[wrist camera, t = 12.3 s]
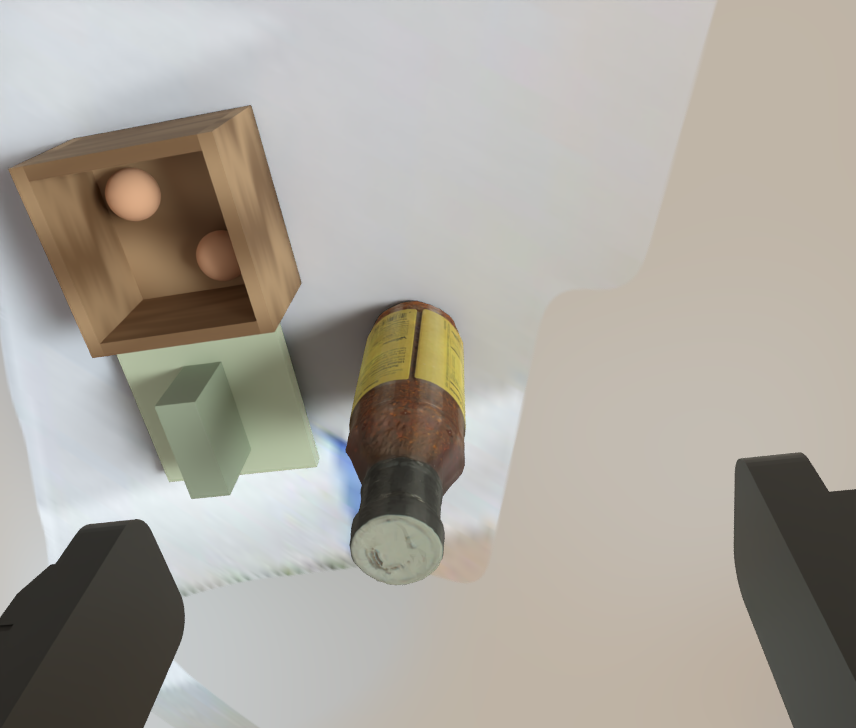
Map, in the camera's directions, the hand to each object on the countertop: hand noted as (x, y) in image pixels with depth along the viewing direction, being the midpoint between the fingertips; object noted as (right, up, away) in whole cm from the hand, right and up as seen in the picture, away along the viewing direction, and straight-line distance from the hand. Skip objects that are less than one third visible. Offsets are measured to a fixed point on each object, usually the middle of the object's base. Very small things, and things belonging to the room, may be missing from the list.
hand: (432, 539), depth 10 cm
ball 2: (-12, +10, +36) cm, 39 cm away
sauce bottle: (-1, +4, +39) cm, 39 cm away
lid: (-14, 0, +42) cm, 45 cm away
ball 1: (-17, +13, +34) cm, 40 cm away
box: (-15, +12, +36) cm, 40 cm away
